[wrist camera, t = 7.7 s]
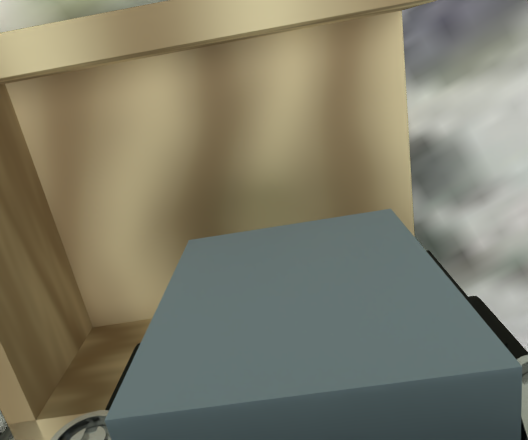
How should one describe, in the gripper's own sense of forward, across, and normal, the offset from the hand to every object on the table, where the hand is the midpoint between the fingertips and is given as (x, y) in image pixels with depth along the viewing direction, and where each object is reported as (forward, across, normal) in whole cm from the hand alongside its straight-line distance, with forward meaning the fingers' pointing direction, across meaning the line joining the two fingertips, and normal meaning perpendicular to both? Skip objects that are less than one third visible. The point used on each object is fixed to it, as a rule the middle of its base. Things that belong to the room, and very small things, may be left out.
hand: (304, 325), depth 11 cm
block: (+1, 0, 0) cm, 1 cm away
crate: (+12, +3, -1) cm, 12 cm away
